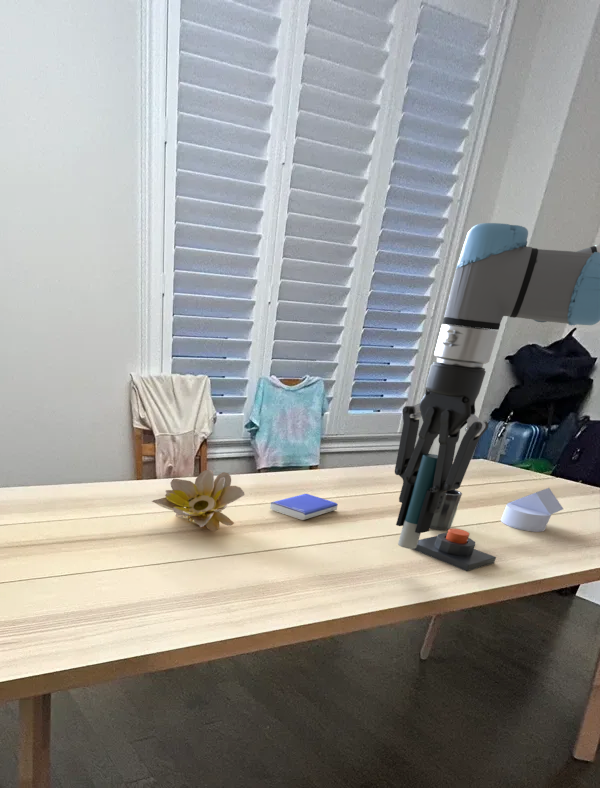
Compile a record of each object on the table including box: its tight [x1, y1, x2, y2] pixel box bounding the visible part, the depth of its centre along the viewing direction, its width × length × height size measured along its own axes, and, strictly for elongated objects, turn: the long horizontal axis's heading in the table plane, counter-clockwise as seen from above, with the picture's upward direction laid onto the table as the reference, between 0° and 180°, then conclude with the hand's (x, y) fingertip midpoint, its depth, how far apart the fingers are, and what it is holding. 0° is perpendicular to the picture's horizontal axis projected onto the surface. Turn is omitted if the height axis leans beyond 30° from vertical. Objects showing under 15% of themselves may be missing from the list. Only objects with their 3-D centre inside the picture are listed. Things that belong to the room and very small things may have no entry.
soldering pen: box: [397, 453, 438, 550], centre depth 100 cm, size 3×3×14 cm
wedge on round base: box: [500, 487, 564, 533], centre depth 135 cm, size 9×7×13 cm
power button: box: [446, 528, 470, 544], centre depth 111 cm, size 4×4×2 cm
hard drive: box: [269, 493, 338, 521], centre depth 127 cm, size 2×8×12 cm
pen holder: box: [429, 489, 463, 532], centre depth 126 cm, size 6×6×7 cm
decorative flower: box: [151, 469, 246, 532], centre depth 111 cm, size 15×11×10 cm
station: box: [412, 532, 497, 572], centre depth 112 cm, size 12×9×3 cm
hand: (412, 527), depth 102 cm, fingers closed on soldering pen, 3 cm apart
